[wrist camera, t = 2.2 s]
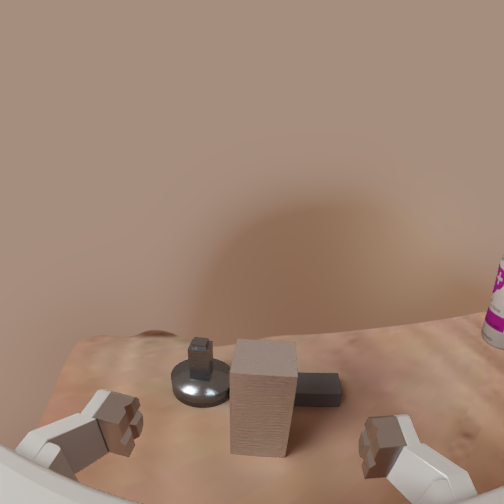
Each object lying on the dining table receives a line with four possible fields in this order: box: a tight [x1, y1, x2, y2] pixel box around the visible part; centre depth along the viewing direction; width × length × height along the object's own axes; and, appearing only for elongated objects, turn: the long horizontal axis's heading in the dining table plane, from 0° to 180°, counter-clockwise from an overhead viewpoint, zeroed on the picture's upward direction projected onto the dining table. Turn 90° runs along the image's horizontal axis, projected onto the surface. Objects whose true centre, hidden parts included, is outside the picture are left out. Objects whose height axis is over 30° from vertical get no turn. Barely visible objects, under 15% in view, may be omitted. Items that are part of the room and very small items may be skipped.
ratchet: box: [171, 337, 342, 408], centre depth 33 cm, size 19×7×6 cm, turn 85°
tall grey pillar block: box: [230, 339, 298, 457], centre depth 26 cm, size 5×5×10 cm
